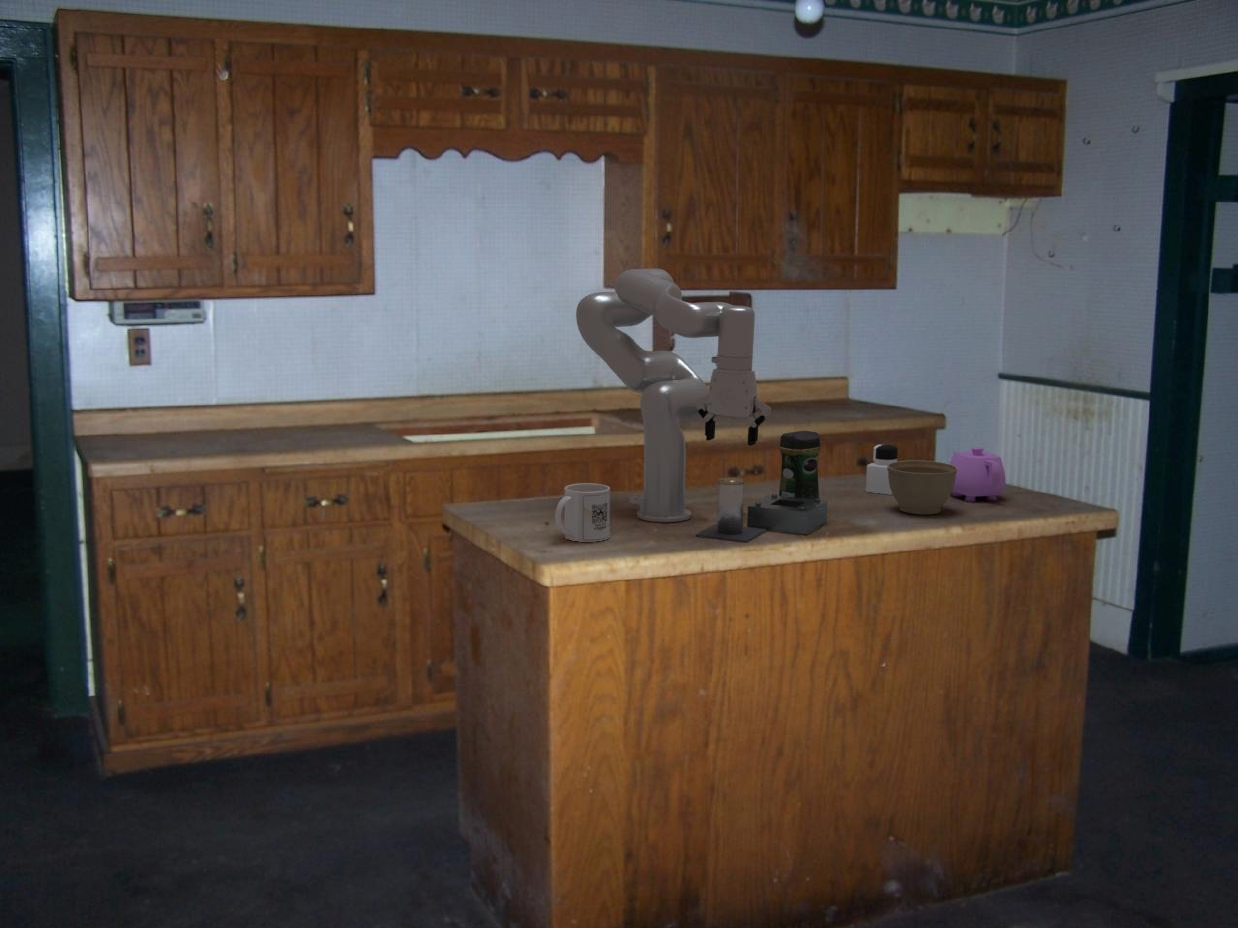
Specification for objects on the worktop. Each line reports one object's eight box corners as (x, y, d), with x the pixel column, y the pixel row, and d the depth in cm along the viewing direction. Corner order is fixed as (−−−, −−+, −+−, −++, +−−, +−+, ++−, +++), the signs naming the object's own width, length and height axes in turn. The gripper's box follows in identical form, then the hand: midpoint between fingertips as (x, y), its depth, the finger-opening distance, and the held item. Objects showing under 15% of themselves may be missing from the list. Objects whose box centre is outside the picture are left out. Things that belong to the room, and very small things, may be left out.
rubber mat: (695, 536, 279) (695, 534, 279) (716, 525, 290) (716, 523, 290) (747, 542, 274) (747, 540, 274) (766, 531, 285) (766, 529, 285)
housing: (747, 527, 288) (747, 503, 287) (769, 515, 300) (769, 492, 299) (807, 534, 281) (807, 509, 280) (826, 522, 294) (827, 498, 293)
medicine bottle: (902, 490, 330) (904, 444, 328) (892, 495, 324) (894, 448, 322) (875, 487, 334) (877, 442, 332) (865, 492, 328) (867, 445, 326)
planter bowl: (872, 506, 310) (874, 462, 308) (928, 502, 316) (930, 458, 314) (911, 520, 296) (913, 474, 294) (968, 515, 302) (971, 470, 300)
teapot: (1017, 504, 315) (1021, 453, 312) (972, 506, 312) (975, 455, 309) (975, 488, 334) (978, 440, 331) (932, 490, 331) (934, 441, 328)
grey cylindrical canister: (713, 532, 281) (714, 480, 279) (722, 527, 286) (723, 476, 284) (736, 535, 278) (738, 483, 276) (746, 530, 283) (747, 478, 281)
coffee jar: (801, 502, 315) (803, 427, 312) (824, 508, 309) (827, 431, 306) (772, 507, 310) (774, 431, 306) (794, 512, 303) (797, 435, 300)
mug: (611, 543, 273) (611, 492, 271) (555, 544, 272) (555, 493, 270) (608, 532, 283) (608, 482, 281) (553, 532, 282) (553, 483, 280)
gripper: (690, 362, 276) (687, 440, 279) (766, 369, 268) (762, 449, 272) (704, 358, 282) (701, 435, 286) (778, 365, 275) (774, 443, 278)
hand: (730, 442), depth 279 cm, fingers open, 9 cm apart
